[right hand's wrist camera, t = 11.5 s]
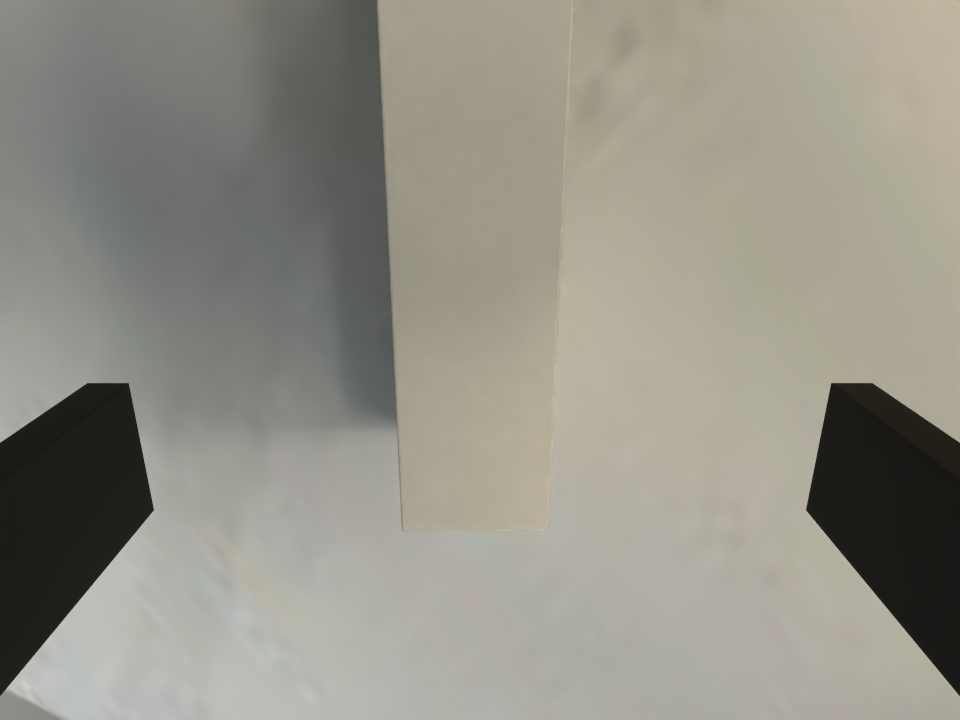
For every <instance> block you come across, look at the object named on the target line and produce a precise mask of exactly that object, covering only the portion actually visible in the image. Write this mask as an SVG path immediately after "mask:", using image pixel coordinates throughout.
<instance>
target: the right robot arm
mask: <svg viewBox="0 0 960 720" xmlns="http://www.w3.org/2000/svg"><path fill="white" fill-rule="evenodd" d="M153 511H154V508H153V503H152V498H151V493H150V488H149V483H148V478H147V473H146V468H145V463H144V458H143V453H142V448H141V443H140V438H139V433H138V428H137V423H136V418H135V413H134V408H133V403H132V398H131V393H130V388H129V383H87V384H86V385H84V386H83V387H81V388H80V389H79V390H77V391H76V392H74V393H73V394H71V395H70V396H68V397H67V398H65V399H64V400H62V401H61V402H59V403H58V404H57V405H55V406H54V407H52V408H51V409H49V410H48V411H46V412H45V413H43V414H42V415H40V416H39V417H37V418H36V419H35V420H33V421H32V422H30V423H29V424H27V425H26V426H24V427H23V428H21V429H20V430H18V431H17V432H15V433H14V434H13V435H11V436H10V437H8V438H7V439H5V440H4V441H2V442H1V443H0V696H1V694H2V693H3V692H4V691H5V690H6V688H7V687H8V686H9V685H10V684H11V682H12V681H13V680H14V679H15V677H16V676H17V675H18V674H19V673H20V671H21V670H22V669H23V668H24V667H25V665H26V664H27V663H28V662H29V661H30V659H31V658H32V657H33V656H34V654H35V653H36V652H37V651H38V650H39V648H40V647H41V646H42V645H43V644H44V642H45V641H46V640H47V639H48V638H49V636H50V635H51V634H52V633H53V632H54V630H55V629H56V628H57V627H58V625H59V624H60V623H61V622H62V621H63V619H64V618H65V617H66V616H67V615H68V613H69V612H70V611H71V610H72V609H73V607H74V606H75V605H76V604H77V602H78V601H79V600H80V599H81V598H82V596H83V595H84V594H85V593H86V592H87V590H88V589H89V588H90V587H91V586H92V584H93V583H94V582H95V581H96V580H97V578H98V577H99V576H100V575H101V573H102V572H103V571H104V570H105V569H106V567H107V566H108V565H109V564H110V563H111V561H112V560H113V559H114V558H115V557H116V555H117V554H118V553H119V552H120V550H121V549H122V548H123V547H124V546H125V544H126V543H127V542H128V541H129V540H130V538H131V537H132V536H133V535H134V534H135V532H136V531H137V530H138V529H139V528H140V526H141V525H142V524H143V523H144V521H145V520H146V519H147V518H148V517H149V515H150V514H151V513H152V512H153ZM806 511H807V512H808V513H809V514H810V515H811V517H812V518H813V519H814V520H815V521H816V523H817V524H818V525H819V526H820V528H821V529H822V530H823V531H824V532H825V534H826V535H827V536H828V537H829V538H830V540H831V541H832V542H833V543H834V544H835V546H836V547H837V548H838V549H839V550H840V552H841V553H842V554H843V555H844V557H845V558H846V559H847V560H848V561H849V563H850V564H851V565H852V566H853V567H854V569H855V570H856V571H857V572H858V573H859V575H860V576H861V577H862V578H863V580H864V581H865V582H866V583H867V584H868V586H869V587H870V588H871V589H872V590H873V592H874V593H875V594H876V595H877V596H878V598H879V599H880V600H881V601H882V602H883V604H884V605H885V606H886V607H887V609H888V610H889V611H890V612H891V613H892V615H893V616H894V617H895V618H896V619H897V621H898V622H899V623H900V624H901V625H902V627H903V628H904V629H905V630H906V632H907V633H908V634H909V635H910V636H911V638H912V639H913V640H914V641H915V642H916V644H917V645H918V646H919V647H920V648H921V650H922V651H923V652H924V653H925V654H926V656H927V657H928V658H929V659H930V661H931V662H932V663H933V664H934V665H935V667H936V668H937V669H938V670H939V671H940V673H941V674H942V675H943V676H944V677H945V679H946V680H947V681H948V682H949V684H950V685H951V686H952V687H953V688H954V690H955V691H956V692H957V693H958V694H959V696H960V443H959V442H958V441H956V440H955V439H953V438H952V437H950V436H949V435H947V434H946V433H945V432H943V431H942V430H940V429H939V428H937V427H936V426H934V425H933V424H931V423H930V422H928V421H927V420H925V419H924V418H923V417H921V416H920V415H918V414H917V413H915V412H914V411H912V410H911V409H909V408H908V407H906V406H905V405H903V404H902V403H901V402H899V401H898V400H896V399H895V398H893V397H892V396H890V395H889V394H887V393H886V392H884V391H883V390H881V389H880V388H879V387H877V386H876V385H874V384H873V383H831V388H830V393H829V398H828V403H827V408H826V413H825V418H824V423H823V428H822V433H821V438H820V443H819V448H818V453H817V458H816V463H815V468H814V473H813V478H812V483H811V488H810V493H809V498H808V503H807V508H806Z"/></svg>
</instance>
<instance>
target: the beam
mask: <svg viewBox="0 0 960 720" xmlns="http://www.w3.org/2000/svg"><path fill="white" fill-rule="evenodd" d="M573 4H574V0H377V17H378V38H379V59H380V80H381V101H382V122H383V143H384V164H385V185H386V206H387V227H388V248H389V269H390V290H391V310H392V331H393V352H394V373H395V394H396V415H397V436H398V457H399V478H400V499H401V520H402V530H403V531H491V530H548V528H549V511H550V490H551V469H552V447H553V426H554V405H555V384H556V363H557V342H558V321H559V299H560V278H561V257H562V236H563V215H564V194H565V173H566V152H567V130H568V109H569V88H570V67H571V46H572V25H573Z"/></svg>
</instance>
